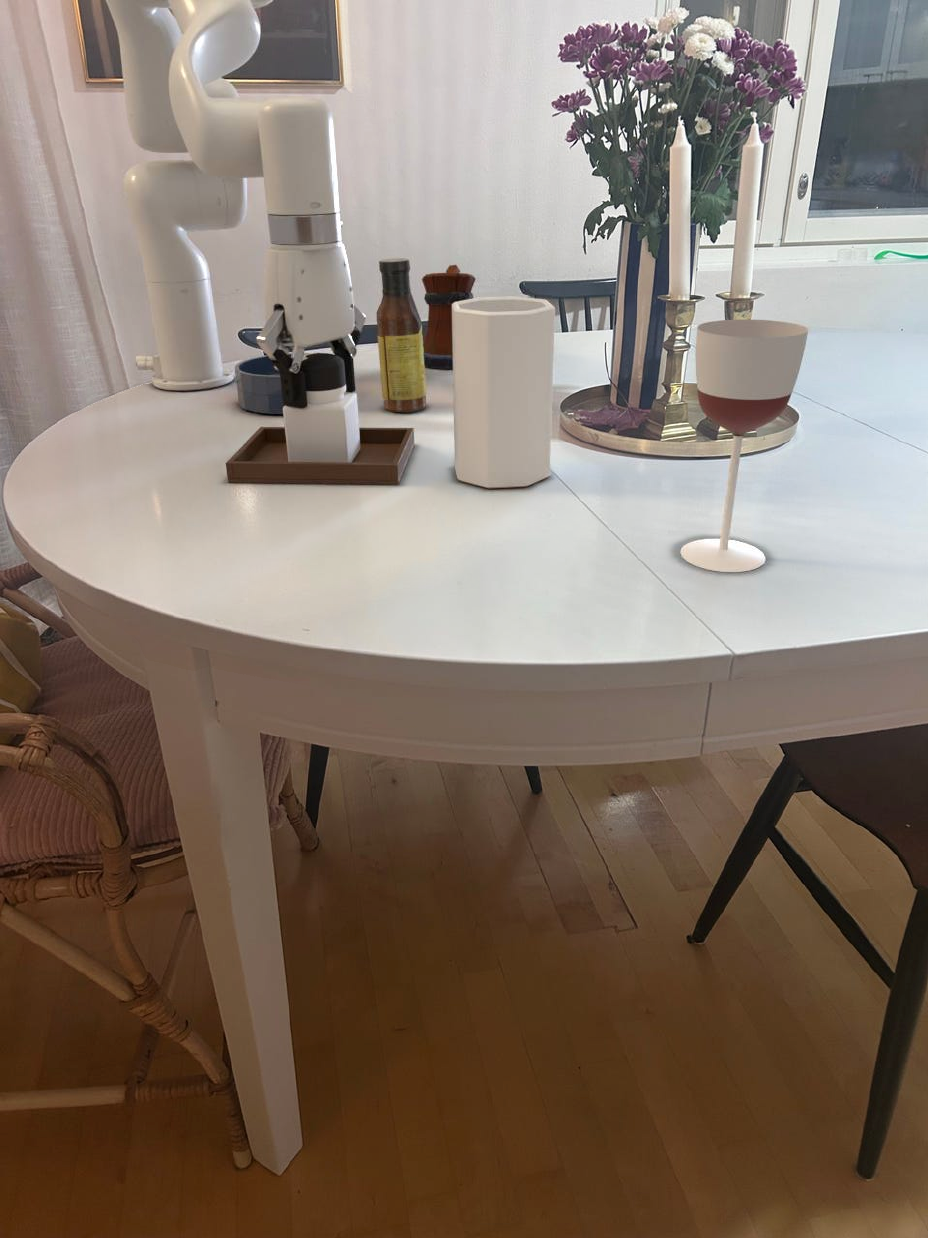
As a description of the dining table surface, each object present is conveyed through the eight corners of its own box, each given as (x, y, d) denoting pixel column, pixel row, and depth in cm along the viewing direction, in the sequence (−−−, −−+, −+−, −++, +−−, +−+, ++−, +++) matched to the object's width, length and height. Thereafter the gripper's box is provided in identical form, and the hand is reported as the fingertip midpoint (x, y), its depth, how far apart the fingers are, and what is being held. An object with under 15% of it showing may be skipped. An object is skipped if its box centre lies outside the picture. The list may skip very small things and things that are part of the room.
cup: (482, 496, 97) (481, 316, 88) (436, 467, 105) (431, 301, 97) (569, 479, 101) (577, 306, 92) (518, 452, 110) (521, 292, 101)
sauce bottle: (435, 407, 129) (431, 258, 120) (404, 416, 125) (396, 263, 116) (404, 400, 133) (397, 255, 124) (372, 408, 129) (363, 259, 120)
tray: (228, 482, 102) (225, 463, 101) (262, 444, 114) (260, 426, 113) (398, 484, 100) (397, 464, 99) (414, 445, 113) (413, 427, 112)
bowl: (226, 415, 127) (220, 376, 124) (256, 389, 140) (251, 352, 138) (332, 416, 126) (329, 376, 123) (352, 389, 139) (350, 353, 136)
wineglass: (663, 539, 86) (684, 321, 76) (753, 535, 86) (784, 318, 77) (689, 575, 79) (715, 339, 69) (786, 570, 79) (825, 335, 70)
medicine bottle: (361, 450, 110) (354, 349, 104) (348, 469, 104) (340, 363, 98) (304, 449, 111) (294, 349, 105) (288, 467, 104) (276, 362, 99)
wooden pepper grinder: (424, 347, 166) (421, 260, 159) (486, 347, 165) (486, 260, 158) (413, 370, 150) (409, 274, 143) (482, 369, 149) (482, 273, 142)
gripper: (333, 224, 104) (345, 379, 112) (218, 237, 91) (241, 411, 99) (384, 226, 100) (392, 386, 108) (272, 241, 87) (291, 421, 96)
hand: (320, 397), depth 104 cm, fingers closed on medicine bottle, 7 cm apart
